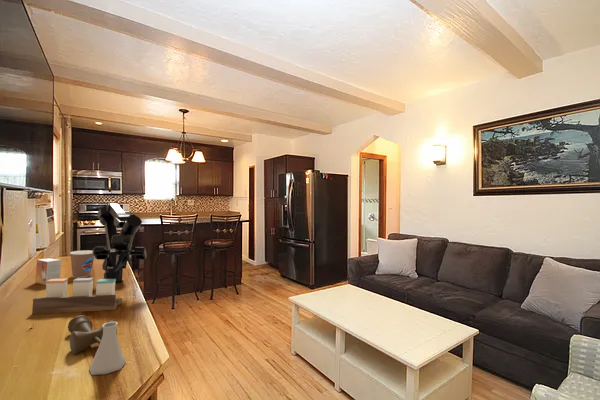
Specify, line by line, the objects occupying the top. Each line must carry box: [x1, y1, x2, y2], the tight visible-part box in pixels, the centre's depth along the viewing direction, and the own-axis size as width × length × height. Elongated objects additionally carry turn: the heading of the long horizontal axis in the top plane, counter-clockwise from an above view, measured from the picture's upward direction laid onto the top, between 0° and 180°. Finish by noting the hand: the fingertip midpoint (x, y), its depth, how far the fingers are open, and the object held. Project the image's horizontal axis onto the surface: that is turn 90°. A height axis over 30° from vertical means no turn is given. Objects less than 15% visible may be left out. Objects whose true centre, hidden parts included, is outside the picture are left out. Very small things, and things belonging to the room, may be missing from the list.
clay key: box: [44, 277, 69, 298], centre depth 102 cm, size 3×5×8 cm, turn 106°
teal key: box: [95, 278, 116, 296], centre depth 104 cm, size 3×5×8 cm, turn 106°
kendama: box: [67, 314, 118, 355], centre depth 78 cm, size 6×10×20 cm
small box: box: [34, 257, 62, 286], centre depth 130 cm, size 8×6×10 cm
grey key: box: [72, 277, 95, 296], centre depth 104 cm, size 3×5×8 cm, turn 106°
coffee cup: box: [69, 249, 95, 279], centre depth 144 cm, size 10×10×12 cm
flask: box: [89, 321, 126, 376], centre depth 68 cm, size 7×7×10 cm
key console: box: [31, 294, 123, 315], centre depth 103 cm, size 9×24×5 cm, turn 106°
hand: (114, 270), depth 113 cm, fingers closed
